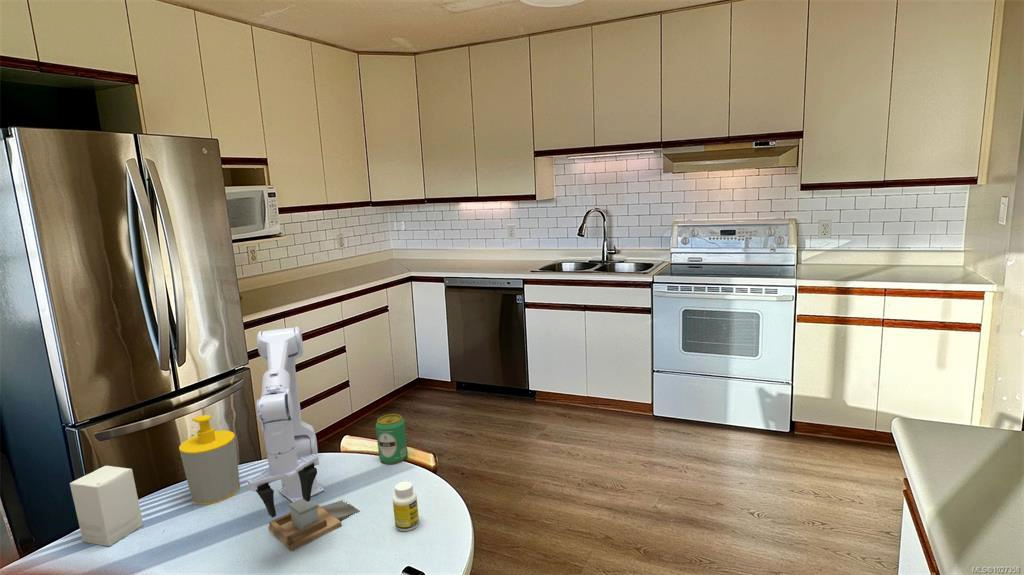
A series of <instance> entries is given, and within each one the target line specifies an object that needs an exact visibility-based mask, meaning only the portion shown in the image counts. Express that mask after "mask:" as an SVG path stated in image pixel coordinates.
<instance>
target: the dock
mask: <svg viewBox="0 0 1024 575" xmlns="http://www.w3.org/2000/svg"><path fill="white" fill-rule="evenodd" d="M343 500H344V499H342V500H338V501H336V502H332V503H329V504H326V505H322V506H320V505H319V504H318V503H316V504H317V505H318V508H317V510H318V517H319V521H318V522H316V523H314V524H312V525H310V526H308V527H306V528H304V529H302V530H299V529H298V528H297V527H295V526H294V525H293V524H292V518H291V512H288V513H286V514H284V515H281V516H279V517H278V518H275V519H273V520H270V521H269V522H268V524H269V525H268V531H269V532H270V533H271V532H272V533H273V534H272V533H271V534H272V535H273V536H274V537H275V538H276V539H278V540H279V541H280V542H281V543H282V542H283V543H284V545H285V546H286V548H288V549H289V550H290V551H291V552H293V551H295V550H296V549H298V548H301V547H302V546H304V545H306V544H308V543H310V542H313V541H314V540H316V539H318V538H320V537H322V536H324V535H326V534H328V533H329V532H332V531H334V530H335V529H338V528H340V527H341V526H342V521H341V520H344V519H348V518H350V517H352V516H354V515H356V514H358V513H360V512H361V510H359V509H358V508H356V507H355V506H353V505H352V504H351V503H349V504H347V503H348V501H346V503H345V502H343ZM355 513H356V514H355ZM353 514H354V515H353ZM351 515H352V516H351ZM349 516H350V517H349ZM347 517H348V518H347ZM283 543H282V544H283ZM292 550H293V551H292Z"/></svg>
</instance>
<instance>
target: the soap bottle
mask: <svg viewBox="0 0 1024 575" xmlns="http://www.w3.org/2000/svg"><path fill="white" fill-rule="evenodd" d="M212 418H213V417H212V416H211V415H210V414H204V415H199V416H195V417H194V418H192V419H191V420H192V421H194V422H196V423H198V424H199V430H197V432H196V434H197V435H195V436H192V437H190V438H188V439H186V440H184V441H182V442H181V444H180V445H179V446H178V449H179V453H180V456H181V457H180V458H181V461H182V466H183V469H184V473H185V477H186V480H187V485H188V490H189V493H190V496H191V502H192V503H194V504H196V505H202V506H203V505H206V506H207V505H211V504H216V503H219V502H223V501H225V500H227V499H229V498H231V497H233V496H234V495H235V494H236V493H238V491H239V490H240V488H241V484H240V475H239V474H240V473H239V463H238V453H237V452H238V451H237V443H236V436H235V435H236V434H235V433H234V432H233V431H230V430H215V428H214V427H211V424H210V420H211V419H212Z"/></svg>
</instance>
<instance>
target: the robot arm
mask: <svg viewBox="0 0 1024 575" xmlns="http://www.w3.org/2000/svg"><path fill="white" fill-rule="evenodd" d="M301 330H302V329H301V328H300V327H299V326H294V327H287V328H286V327H285V328H279V329H271V330H264V331H263V330H259V332H258V333H257V335H256V344H257V350H258V354H259V356H260V357H262V359H263V360H264V361H265V362H267V369H268V370H267V371H266V372H264V374H263V376H262V382H261V383H262V384H261V394H260V395H261V396H260V398H258V399H257V400H256V414H257V416H256V417H257V419H258V422H259V425H260V430H261V433H263V437H264V446H265V450H266V457H267V462H268V463H267V465H268V469H266V470H264V471H262V472H261V473H259V474H257V475H255V476H254V477H252V478H249V479H247V484H248V485H247V486H248V489H249V490H250V491H251V492H256V493H257V495H258V496H259V497H260V500H262V502H263V503H264V506H265V508H266V510H267V513H268V515H269V516H270V518H275V517H277V511H276V507H275V506H276V505H275V500H274V499H275V498H274V496H275V495H274V493H275V490H274V489H273V488H272V487H271V483H273V482H276V481H278V480H280V481H281V488H279V490H278V492H279V493H280V494H281V495H283V496H284V497H285V498H287V499H288V500H289V501H290V502H291V503H292V502H295V501H297V500H299V499H301V498H303V499H304V500H306V501H307V502H308V501H310V500H311V497H312V496H315V495H317V494H320V493H322V492H323V491H324V488H323V487H322V486H320V485H319V484H317V477H316V476H317V474H318V469H317V468H316V466H318V465H320V461H319V456H318V441H317V436H316V432H315V428H314V426H313V425H311V424H309V423H308V422H305V421H303V420H302V412H301V404H300V402H301V401H300V395H299V388H298V381H297V370H296V365H297V364H296V363H297V360H298V359H300V358H301V357H303V356H304V348H303V347H304V346H303V334H302V331H301Z"/></svg>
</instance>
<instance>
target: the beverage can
mask: <svg viewBox="0 0 1024 575" xmlns="http://www.w3.org/2000/svg"><path fill="white" fill-rule="evenodd" d="M375 433H376V442H377V449H378V450H377V451H378V457H379V459H380V461H381V463H383V464H385V463H387V464H386V465H394V464H398V462H399V463H402V462H403V461H404V460H406V458H407V456H408V445H407V436H406V435H407V434H406V425H405V420H404V418H403V417H402V415H400V414H398V413H397V414H396V413H390V414H385V415H382V416H380V417H378V418H377V420H376V423H375Z"/></svg>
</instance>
